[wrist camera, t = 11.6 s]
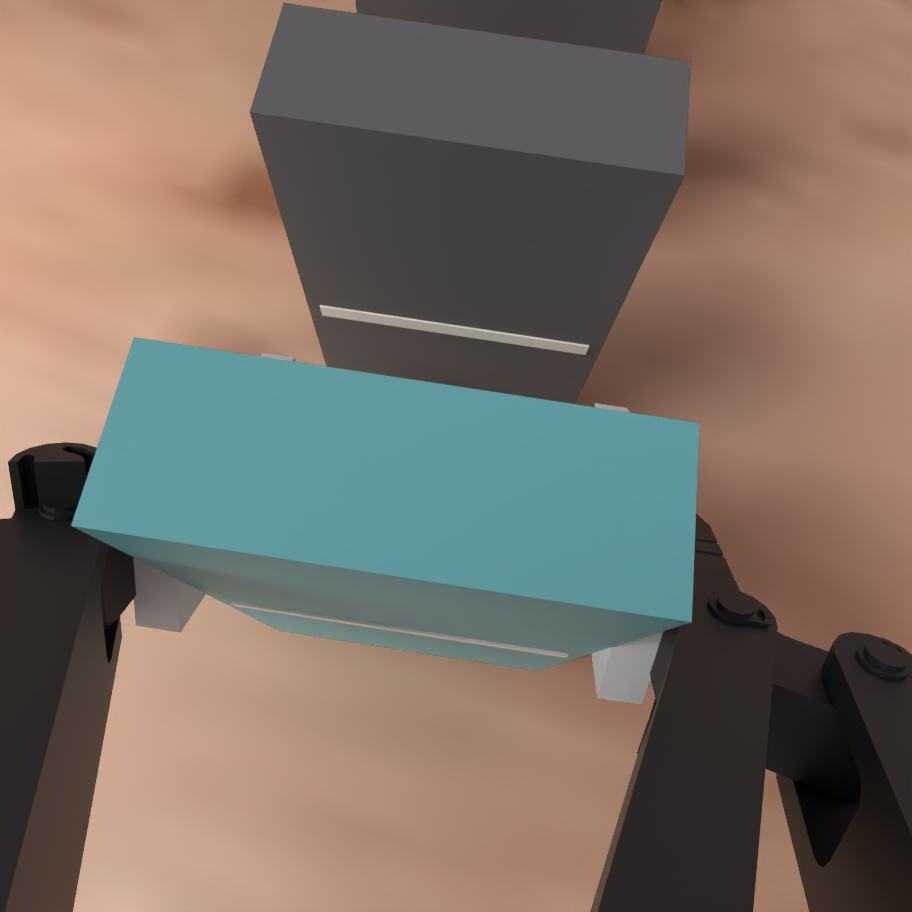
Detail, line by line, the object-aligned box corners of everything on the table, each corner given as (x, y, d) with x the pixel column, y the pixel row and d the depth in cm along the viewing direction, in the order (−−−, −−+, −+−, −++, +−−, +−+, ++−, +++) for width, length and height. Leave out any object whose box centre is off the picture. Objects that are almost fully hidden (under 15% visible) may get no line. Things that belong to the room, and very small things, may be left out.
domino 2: (557, 440, 23) (684, 178, 11) (338, 407, 23) (249, 114, 12) (564, 370, 24) (691, 59, 12) (353, 338, 24) (284, 0, 12)
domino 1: (577, 254, 25) (700, -118, 14) (378, 225, 25) (337, -170, 14) (583, 196, 26) (705, -201, 15) (390, 167, 26) (362, -249, 15)
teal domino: (537, 673, 19) (691, 626, 8) (279, 632, 19) (69, 530, 8) (546, 580, 20) (699, 419, 9) (299, 541, 20) (135, 333, 9)
